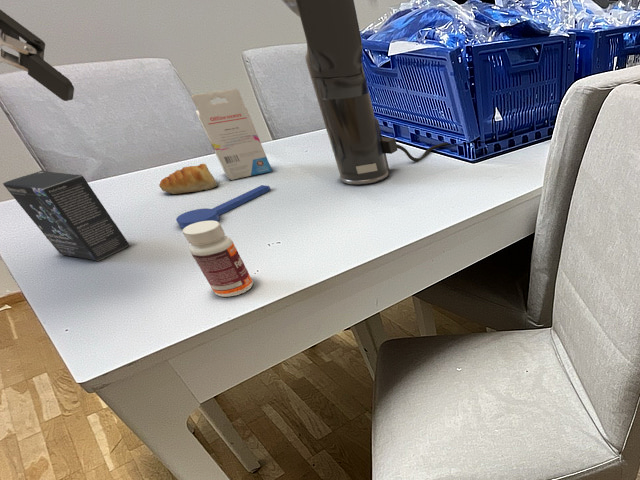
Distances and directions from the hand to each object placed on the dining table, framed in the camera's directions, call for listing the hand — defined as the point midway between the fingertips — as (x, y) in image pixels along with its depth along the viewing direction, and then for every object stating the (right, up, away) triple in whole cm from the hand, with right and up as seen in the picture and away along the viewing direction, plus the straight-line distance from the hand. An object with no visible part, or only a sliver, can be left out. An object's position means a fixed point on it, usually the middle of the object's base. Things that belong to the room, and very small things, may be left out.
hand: (34, 102), depth 46 cm
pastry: (-15, +11, +42) cm, 46 cm away
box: (-16, -8, +23) cm, 29 cm away
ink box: (-9, +17, +48) cm, 52 cm away
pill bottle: (+12, -16, +14) cm, 24 cm away
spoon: (-3, +3, +34) cm, 34 cm away
